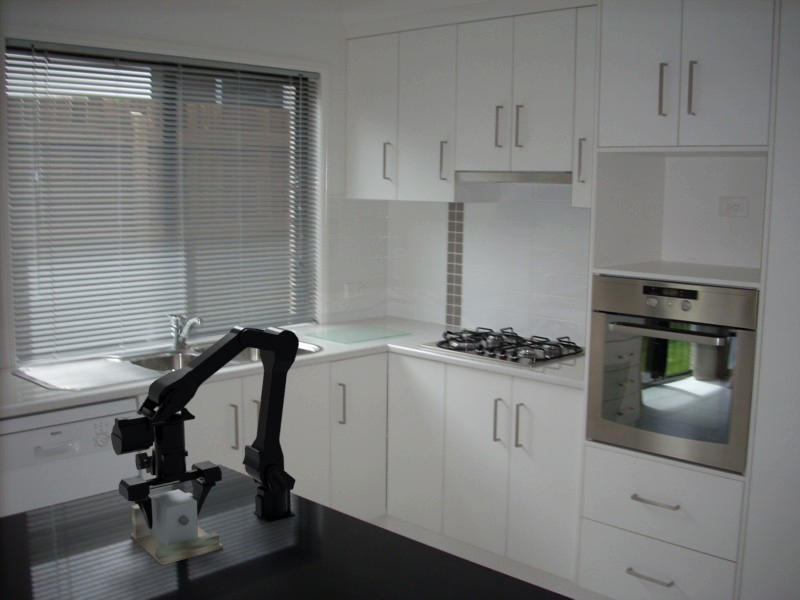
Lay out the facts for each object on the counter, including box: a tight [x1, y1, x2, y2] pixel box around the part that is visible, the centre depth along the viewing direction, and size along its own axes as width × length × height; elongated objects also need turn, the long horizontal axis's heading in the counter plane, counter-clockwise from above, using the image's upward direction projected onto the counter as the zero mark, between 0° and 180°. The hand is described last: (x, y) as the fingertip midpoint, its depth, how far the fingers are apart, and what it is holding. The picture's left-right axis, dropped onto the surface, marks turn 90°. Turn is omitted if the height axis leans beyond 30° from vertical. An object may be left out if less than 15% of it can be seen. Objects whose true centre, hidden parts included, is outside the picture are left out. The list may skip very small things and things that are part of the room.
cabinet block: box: [149, 488, 199, 546], centre depth 165 cm, size 6×9×8 cm, turn 39°
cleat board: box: [130, 491, 224, 566], centre depth 165 cm, size 12×16×7 cm
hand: (173, 522), depth 166 cm, fingers open, 9 cm apart
